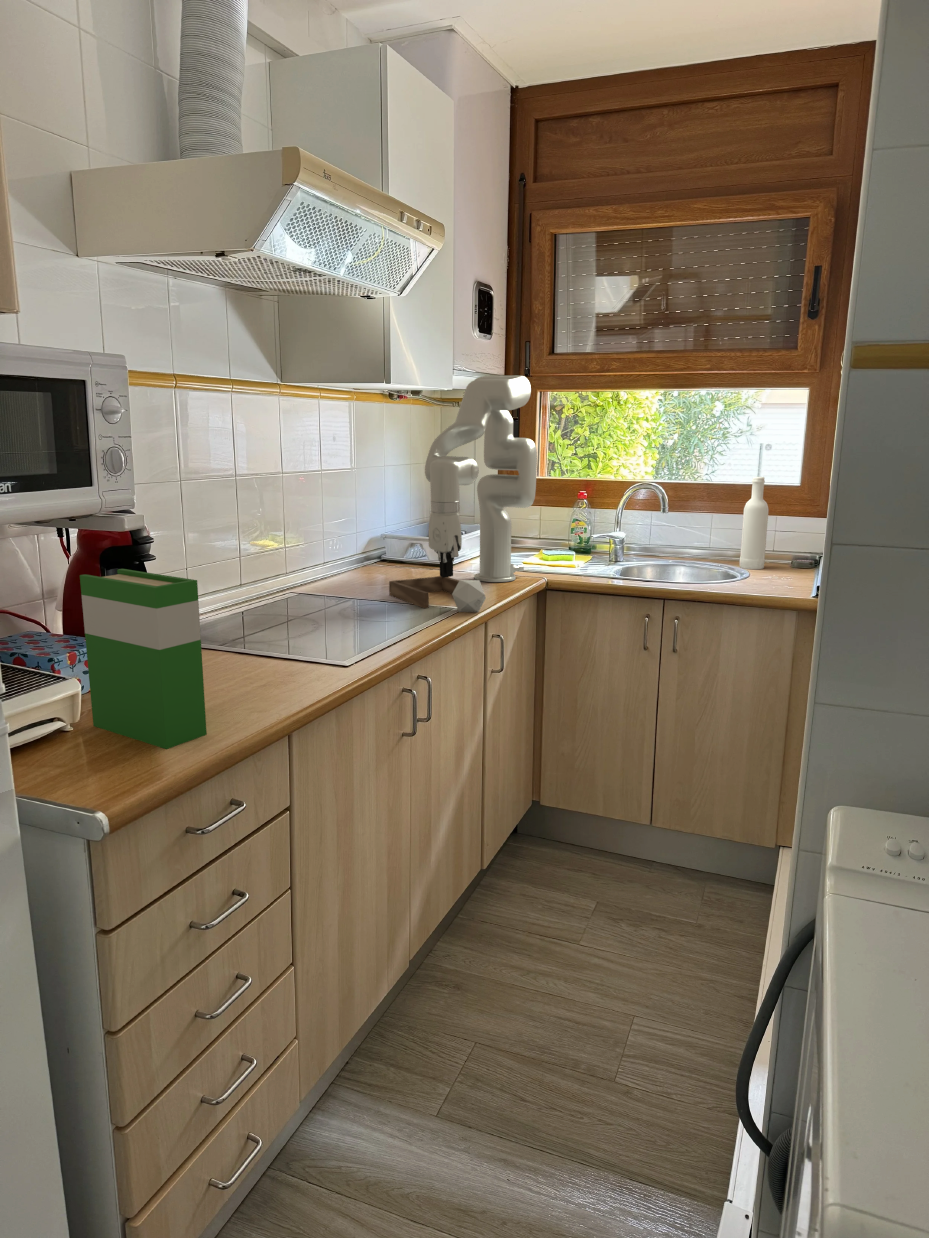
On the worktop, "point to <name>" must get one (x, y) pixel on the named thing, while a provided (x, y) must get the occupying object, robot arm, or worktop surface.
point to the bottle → (754, 528)
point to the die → (469, 596)
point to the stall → (420, 589)
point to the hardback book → (145, 656)
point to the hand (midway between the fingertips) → (446, 576)
